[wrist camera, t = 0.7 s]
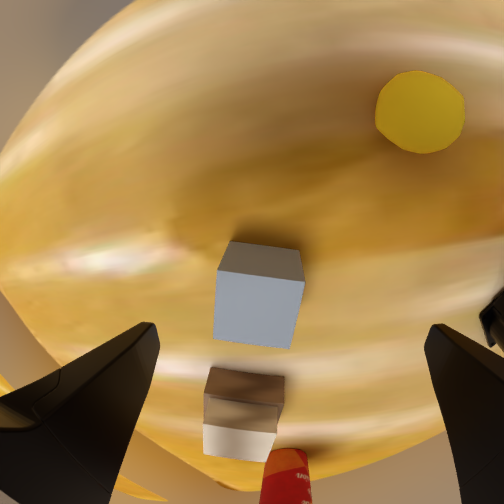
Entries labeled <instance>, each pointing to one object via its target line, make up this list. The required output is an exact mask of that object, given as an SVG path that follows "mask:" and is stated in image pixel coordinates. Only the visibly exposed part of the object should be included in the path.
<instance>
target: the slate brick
mask: <svg viewBox="0 0 504 504" xmlns="http://www.w3.org/2000/svg"><path fill="white" fill-rule="evenodd" d="M304 286H305V278H304V272H303V267H302V262H301V257H300V252H299V250H294V249H287V248H279V247H272V246H264V245H257V244H250V243H242V242H234V241H230V242H229V244H228V246H227V249H226V251H225V253H224V256H223V258H222V260H221V262H220V265H219V267H218V269H217V279H216V295H215V312H214V330H213V339H218V340H224V341H231V342H237V343H244V344H252V345H259V346H267V347H276V348H285V349H290V345H291V341H292V337H293V333H294V329H295V325H296V321H297V317H298V312H299V308H300V304H301V299H302V295H303V290H304Z"/></svg>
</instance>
